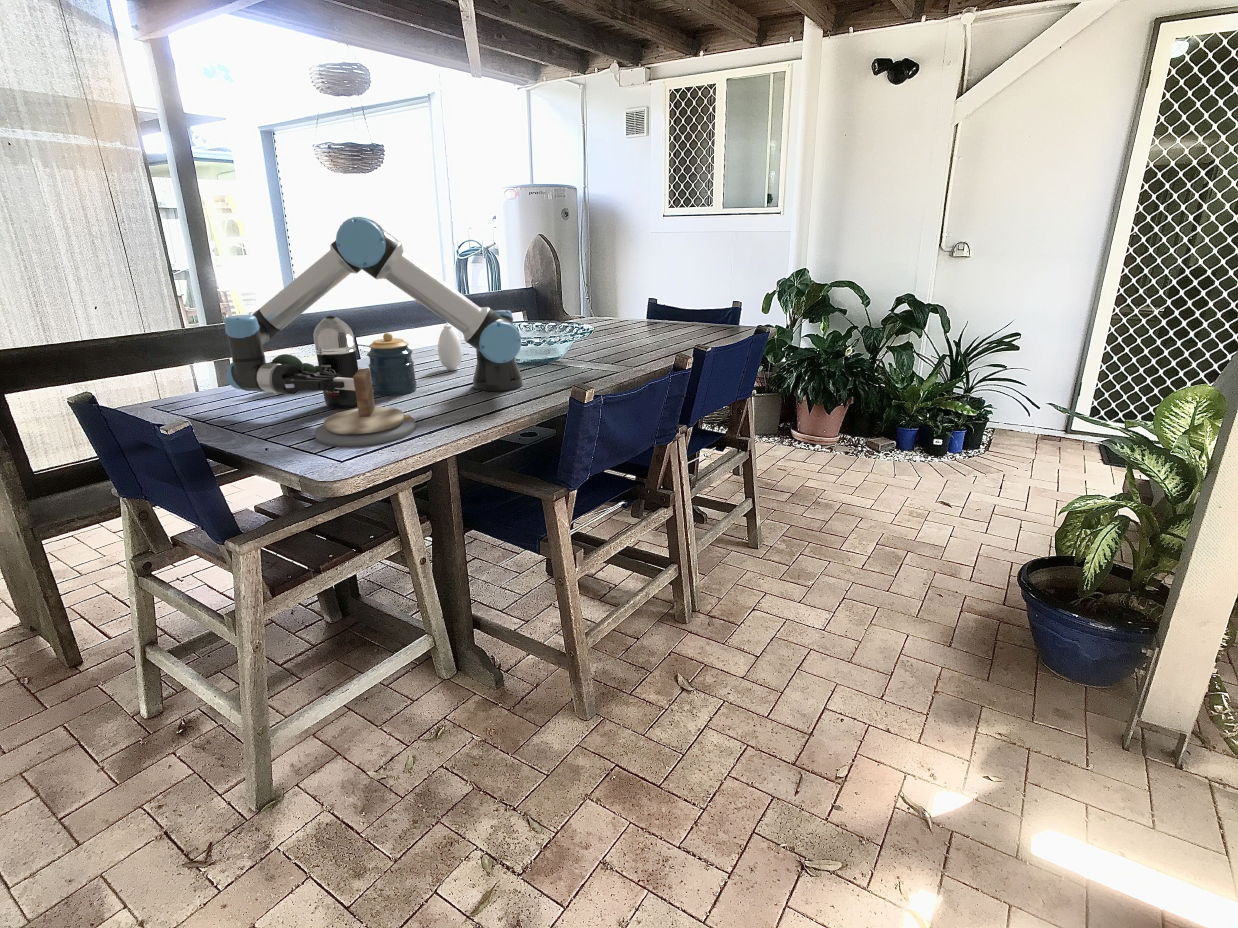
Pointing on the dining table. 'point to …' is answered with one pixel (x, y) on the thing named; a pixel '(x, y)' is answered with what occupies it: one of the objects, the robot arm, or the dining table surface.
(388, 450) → the dining table surface
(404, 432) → the base
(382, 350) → the canister
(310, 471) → the dining table surface
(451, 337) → the white tall oval piece
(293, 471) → the dining table surface
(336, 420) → the dial
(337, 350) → the black chrome cylinder
